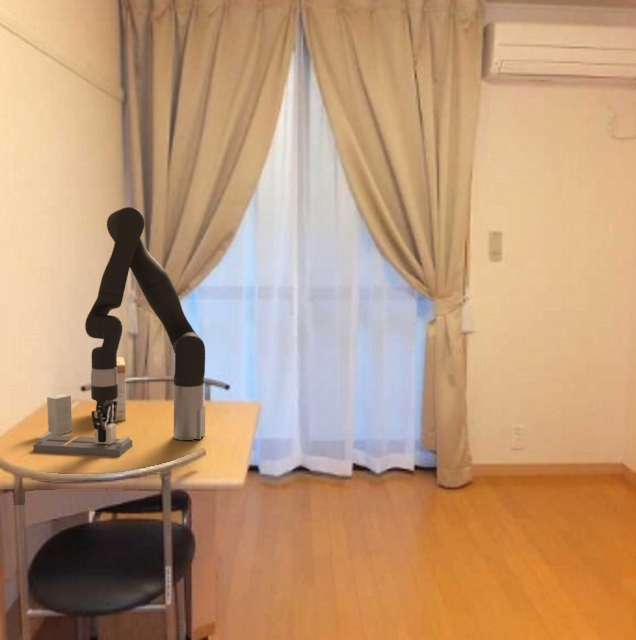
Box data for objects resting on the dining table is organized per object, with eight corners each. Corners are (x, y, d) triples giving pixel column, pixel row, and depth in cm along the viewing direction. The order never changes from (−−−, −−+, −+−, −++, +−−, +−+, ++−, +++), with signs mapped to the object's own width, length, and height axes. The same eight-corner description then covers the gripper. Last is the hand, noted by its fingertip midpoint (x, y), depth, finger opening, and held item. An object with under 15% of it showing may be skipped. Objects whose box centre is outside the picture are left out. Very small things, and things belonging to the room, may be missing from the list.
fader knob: (116, 440, 210) (115, 423, 209) (110, 444, 206) (110, 427, 206) (99, 439, 211) (99, 422, 210) (94, 443, 207) (94, 426, 206)
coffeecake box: (103, 410, 252) (103, 357, 250) (124, 409, 254) (124, 356, 252) (104, 422, 238) (103, 365, 236) (126, 420, 240) (125, 364, 238)
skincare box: (63, 429, 228) (62, 393, 227) (72, 431, 226) (71, 395, 224) (47, 434, 223) (46, 396, 221) (56, 436, 221) (55, 398, 219)
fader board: (132, 445, 213) (132, 434, 213) (120, 456, 203) (119, 444, 203) (49, 441, 215) (49, 430, 215) (33, 451, 206) (33, 439, 205)
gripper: (107, 388, 199) (108, 447, 201) (125, 378, 213) (126, 433, 215) (81, 387, 199) (82, 446, 202) (101, 377, 213) (102, 432, 216)
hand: (105, 439), depth 208 cm, fingers closed on fader knob, 4 cm apart
